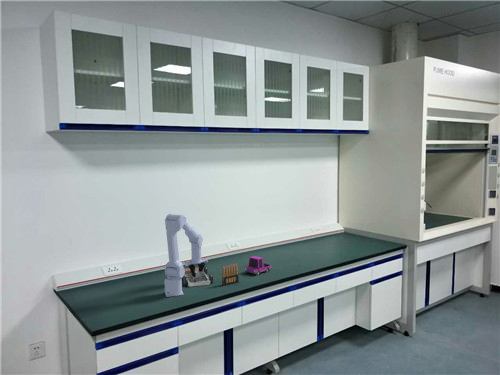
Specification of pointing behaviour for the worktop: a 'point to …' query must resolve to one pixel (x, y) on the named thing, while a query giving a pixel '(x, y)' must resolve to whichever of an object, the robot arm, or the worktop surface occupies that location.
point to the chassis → (192, 283)
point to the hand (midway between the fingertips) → (196, 275)
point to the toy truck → (257, 265)
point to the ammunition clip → (230, 275)
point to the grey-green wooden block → (198, 275)
